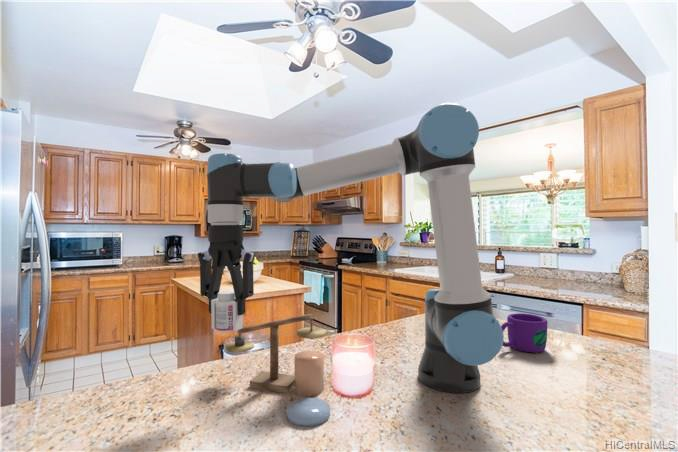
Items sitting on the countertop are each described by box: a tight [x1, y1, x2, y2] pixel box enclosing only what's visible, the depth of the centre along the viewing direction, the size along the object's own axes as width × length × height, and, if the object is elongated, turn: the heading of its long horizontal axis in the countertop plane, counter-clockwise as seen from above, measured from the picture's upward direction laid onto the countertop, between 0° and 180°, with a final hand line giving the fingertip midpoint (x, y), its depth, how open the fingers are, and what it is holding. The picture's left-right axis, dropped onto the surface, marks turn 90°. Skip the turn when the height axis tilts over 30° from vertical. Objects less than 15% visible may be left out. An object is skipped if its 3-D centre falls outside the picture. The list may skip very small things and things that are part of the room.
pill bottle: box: [215, 290, 236, 334], centre depth 79 cm, size 5×5×8 cm
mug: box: [501, 312, 548, 354], centre depth 112 cm, size 17×11×10 cm, turn 109°
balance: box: [224, 313, 327, 394], centre depth 86 cm, size 26×7×18 cm, turn 73°
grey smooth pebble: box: [286, 397, 331, 428], centre depth 73 cm, size 9×9×1 cm
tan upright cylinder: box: [293, 350, 325, 397], centre depth 84 cm, size 7×7×8 cm
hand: (227, 328), depth 78 cm, fingers closed on pill bottle, 5 cm apart
